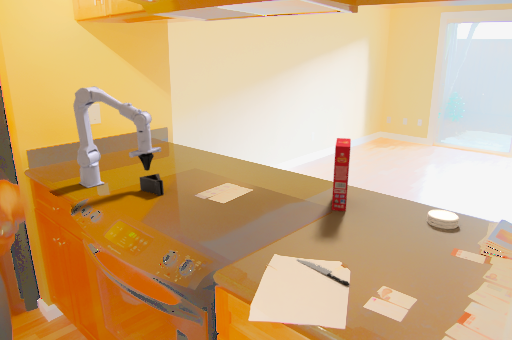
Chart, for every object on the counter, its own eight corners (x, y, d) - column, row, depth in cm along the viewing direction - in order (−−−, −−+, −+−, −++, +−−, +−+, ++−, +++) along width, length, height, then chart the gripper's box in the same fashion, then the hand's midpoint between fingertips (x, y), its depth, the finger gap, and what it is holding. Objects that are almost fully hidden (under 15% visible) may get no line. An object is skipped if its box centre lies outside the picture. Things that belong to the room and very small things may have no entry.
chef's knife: (299, 256, 111) (292, 259, 109) (299, 253, 110) (292, 256, 108) (354, 284, 97) (348, 287, 95) (355, 280, 97) (348, 283, 95)
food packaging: (345, 211, 142) (350, 146, 135) (331, 210, 143) (335, 146, 136) (346, 197, 156) (350, 138, 149) (333, 196, 157) (337, 138, 150)
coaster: (456, 232, 125) (457, 222, 124) (424, 225, 130) (425, 216, 129) (459, 221, 133) (460, 212, 132) (428, 215, 138) (430, 207, 137)
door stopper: (140, 190, 165) (151, 197, 156) (139, 177, 163) (150, 184, 154) (159, 186, 170) (171, 193, 161) (158, 173, 169) (170, 179, 160)
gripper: (133, 144, 155) (136, 175, 159) (163, 138, 165) (166, 168, 169) (125, 141, 160) (128, 172, 164) (155, 136, 170) (157, 165, 174)
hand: (147, 170), depth 167 cm, fingers closed
